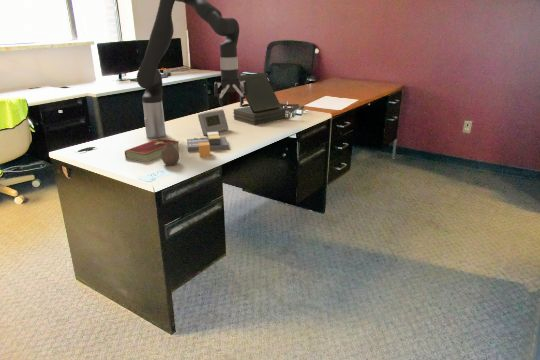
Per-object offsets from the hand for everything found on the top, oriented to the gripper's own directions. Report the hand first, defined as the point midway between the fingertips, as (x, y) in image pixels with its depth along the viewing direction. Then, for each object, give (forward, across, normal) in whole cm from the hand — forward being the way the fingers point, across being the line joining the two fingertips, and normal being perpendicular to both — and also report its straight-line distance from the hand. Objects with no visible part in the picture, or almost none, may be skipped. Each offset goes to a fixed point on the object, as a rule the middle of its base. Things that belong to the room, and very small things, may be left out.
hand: (231, 105), depth 184 cm
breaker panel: (+18, -12, +3) cm, 22 cm away
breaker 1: (+16, -9, +6) cm, 19 cm away
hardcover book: (+19, -36, -2) cm, 41 cm away
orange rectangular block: (+18, -14, -10) cm, 25 cm away
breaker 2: (+16, -9, 0) cm, 18 cm away
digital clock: (+19, -7, +28) cm, 34 cm away
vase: (+19, -28, -19) cm, 38 cm away
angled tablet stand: (+19, +21, +51) cm, 58 cm away
